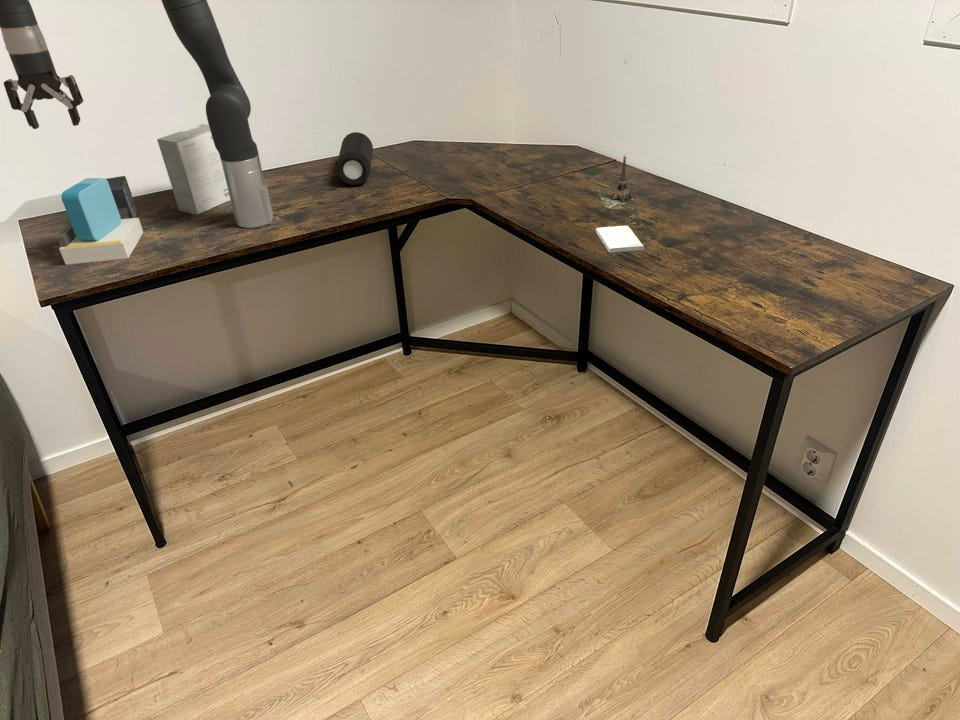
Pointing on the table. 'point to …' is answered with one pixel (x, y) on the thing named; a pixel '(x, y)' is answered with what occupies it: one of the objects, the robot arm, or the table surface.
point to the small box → (123, 197)
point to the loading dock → (100, 243)
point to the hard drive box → (194, 169)
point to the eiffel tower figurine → (618, 194)
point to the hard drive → (619, 239)
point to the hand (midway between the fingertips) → (56, 126)
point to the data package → (91, 208)
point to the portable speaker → (355, 159)
